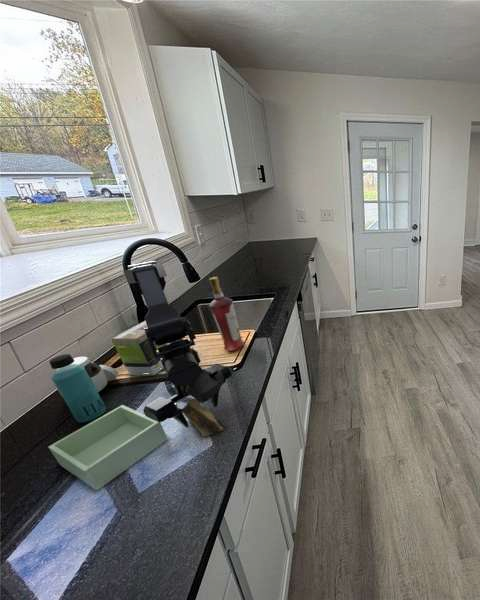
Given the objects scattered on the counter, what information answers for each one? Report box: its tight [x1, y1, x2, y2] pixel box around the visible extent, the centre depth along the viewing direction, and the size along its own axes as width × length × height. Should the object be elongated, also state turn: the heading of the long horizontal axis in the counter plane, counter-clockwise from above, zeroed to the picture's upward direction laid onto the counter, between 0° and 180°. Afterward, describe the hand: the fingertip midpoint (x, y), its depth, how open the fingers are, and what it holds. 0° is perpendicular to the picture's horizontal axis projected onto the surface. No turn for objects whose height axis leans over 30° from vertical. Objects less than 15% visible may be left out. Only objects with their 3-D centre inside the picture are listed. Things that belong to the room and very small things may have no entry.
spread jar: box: [56, 356, 119, 397], centre depth 97 cm, size 12×11×12 cm
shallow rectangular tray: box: [47, 404, 169, 491], centre depth 74 cm, size 15×17×6 cm
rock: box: [182, 398, 224, 437], centre depth 81 cm, size 11×9×10 cm
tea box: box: [110, 320, 164, 377], centre depth 109 cm, size 15×10×15 cm
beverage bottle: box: [48, 353, 107, 423], centre depth 83 cm, size 6×7×20 cm
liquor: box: [208, 276, 245, 352], centre depth 113 cm, size 7×7×28 cm
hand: (201, 416), depth 80 cm, fingers open, 7 cm apart
